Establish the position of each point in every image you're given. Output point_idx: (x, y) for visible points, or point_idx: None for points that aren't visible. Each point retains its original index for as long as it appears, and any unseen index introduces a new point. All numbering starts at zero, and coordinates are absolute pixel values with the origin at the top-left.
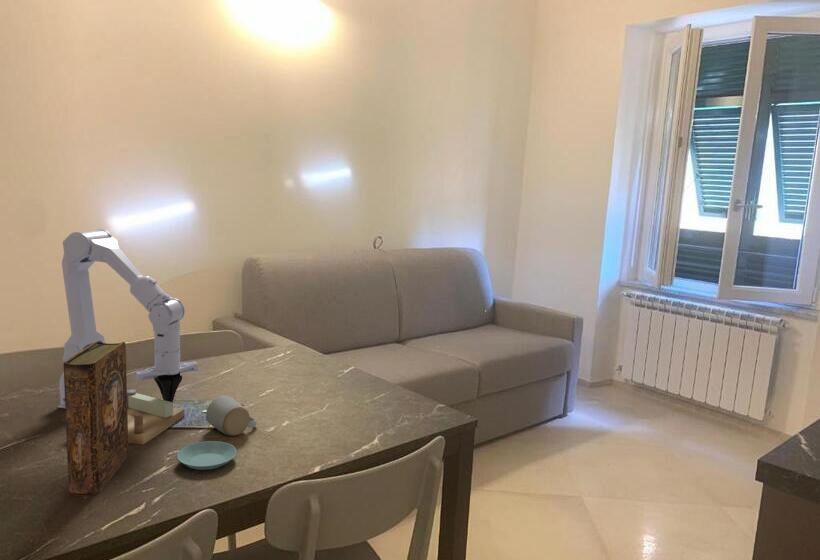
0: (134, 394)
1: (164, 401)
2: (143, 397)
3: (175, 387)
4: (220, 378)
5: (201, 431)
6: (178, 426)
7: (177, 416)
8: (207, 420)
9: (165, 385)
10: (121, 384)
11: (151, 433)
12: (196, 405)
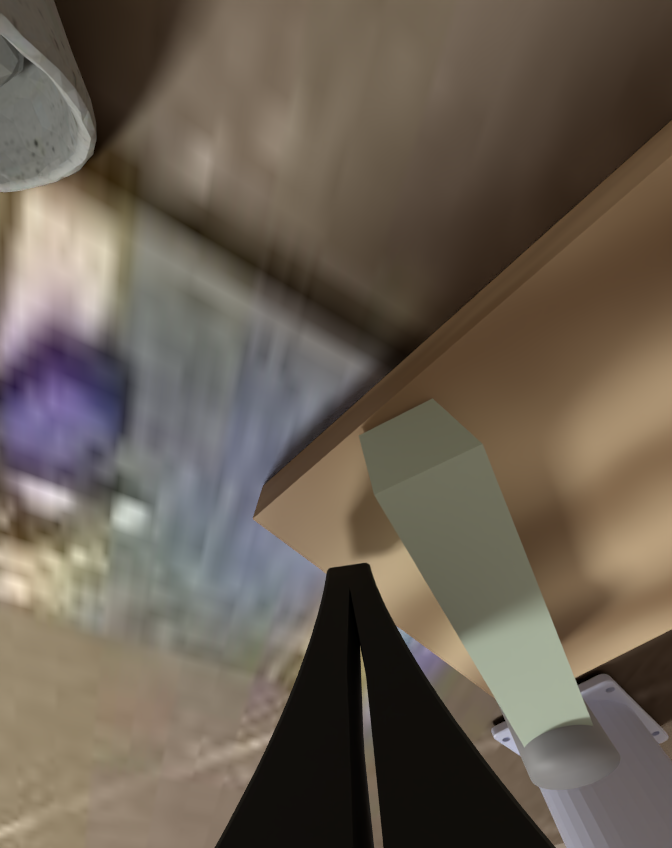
0: (552, 732)
1: (434, 557)
2: (532, 678)
3: (301, 741)
4: (34, 790)
5: (202, 148)
6: (337, 350)
7: (319, 449)
8: (83, 81)
9: (483, 814)
10: None
11: (616, 190)
12: (171, 594)
